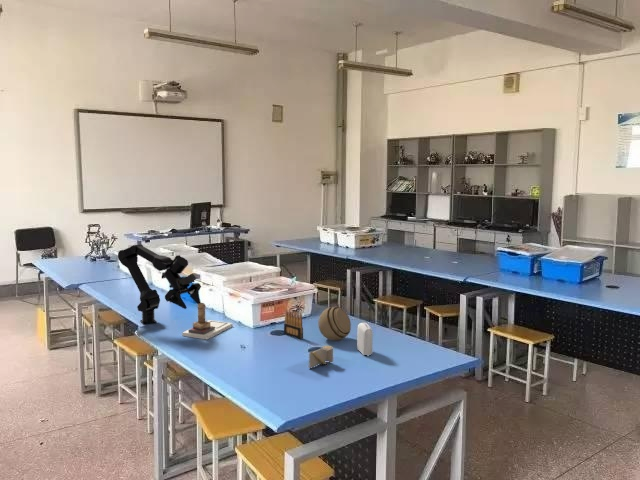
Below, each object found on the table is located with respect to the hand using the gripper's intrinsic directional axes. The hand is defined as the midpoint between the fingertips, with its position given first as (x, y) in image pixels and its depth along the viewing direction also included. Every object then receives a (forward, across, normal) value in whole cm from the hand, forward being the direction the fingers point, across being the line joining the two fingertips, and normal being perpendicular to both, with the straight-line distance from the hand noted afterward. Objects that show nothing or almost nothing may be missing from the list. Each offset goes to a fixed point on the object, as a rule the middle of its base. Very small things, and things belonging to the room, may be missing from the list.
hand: (193, 306), depth 250 cm
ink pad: (+11, 0, +4) cm, 12 cm away
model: (+60, -5, -40) cm, 72 cm away
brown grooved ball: (+51, +26, -33) cm, 66 cm away
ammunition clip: (+38, +20, -20) cm, 48 cm away
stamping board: (+12, +5, +6) cm, 14 cm away
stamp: (+10, 0, +3) cm, 11 cm away
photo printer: (+64, +18, -46) cm, 81 cm away
